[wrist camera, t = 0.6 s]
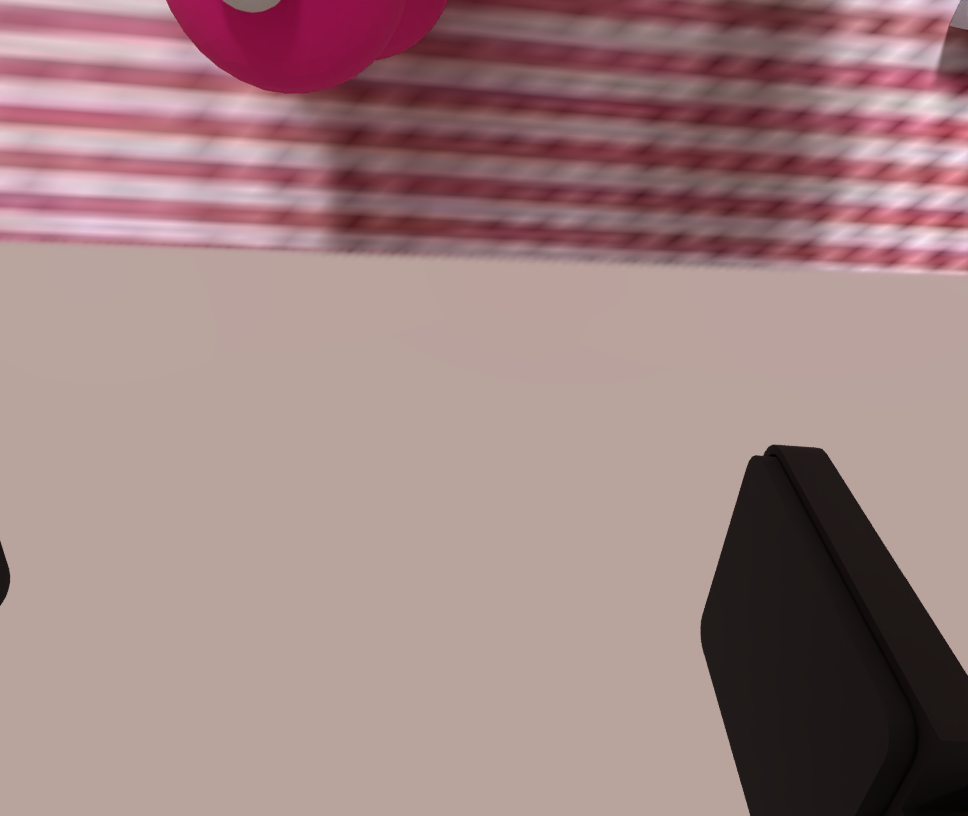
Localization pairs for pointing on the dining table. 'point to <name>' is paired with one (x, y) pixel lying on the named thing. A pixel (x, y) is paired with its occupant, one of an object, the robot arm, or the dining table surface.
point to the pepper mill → (303, 37)
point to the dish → (961, 16)
